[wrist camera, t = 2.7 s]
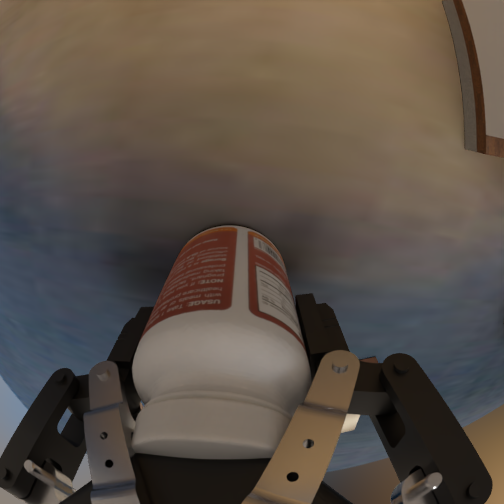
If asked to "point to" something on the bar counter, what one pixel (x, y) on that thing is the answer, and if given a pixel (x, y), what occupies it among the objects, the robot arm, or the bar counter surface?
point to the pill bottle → (221, 352)
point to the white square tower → (480, 70)
